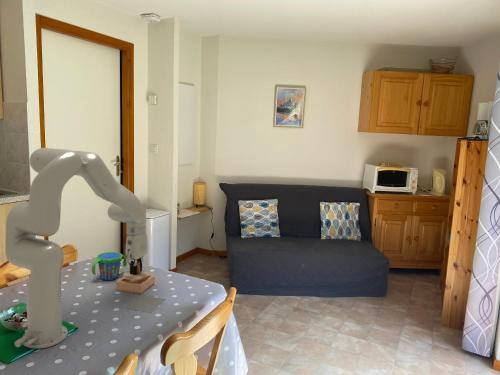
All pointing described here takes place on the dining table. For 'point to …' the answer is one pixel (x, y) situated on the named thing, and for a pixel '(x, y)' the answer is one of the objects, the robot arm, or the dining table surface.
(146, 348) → the dining table surface
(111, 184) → the robot arm
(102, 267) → the snack cup
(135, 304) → the mat
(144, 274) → the lid
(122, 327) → the dining table surface
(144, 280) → the dish
